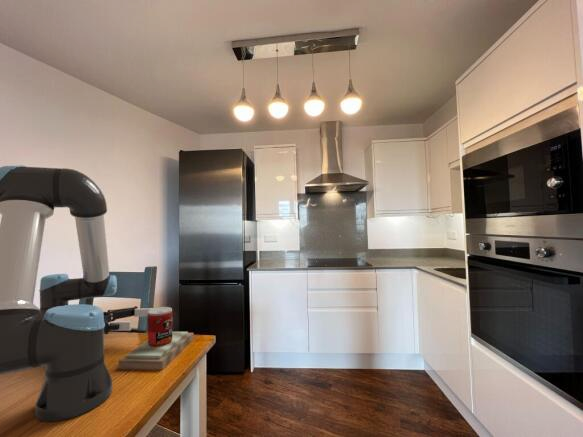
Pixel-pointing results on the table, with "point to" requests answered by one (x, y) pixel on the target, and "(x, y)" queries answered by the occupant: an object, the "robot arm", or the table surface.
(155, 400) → the table surface
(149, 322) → the canned food
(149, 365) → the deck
